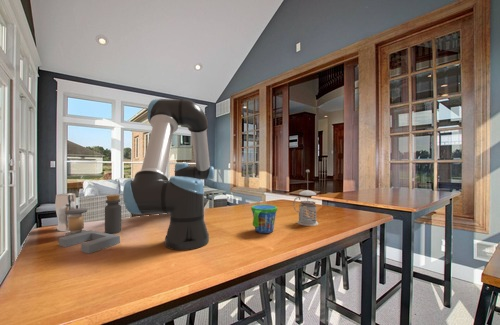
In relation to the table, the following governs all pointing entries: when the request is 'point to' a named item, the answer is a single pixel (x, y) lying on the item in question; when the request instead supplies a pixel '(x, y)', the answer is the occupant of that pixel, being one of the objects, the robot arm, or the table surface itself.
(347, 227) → the table surface
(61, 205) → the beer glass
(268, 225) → the snack cup
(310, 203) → the french press
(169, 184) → the robot arm
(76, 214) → the bobbin
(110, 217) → the bottle
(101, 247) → the notch board
